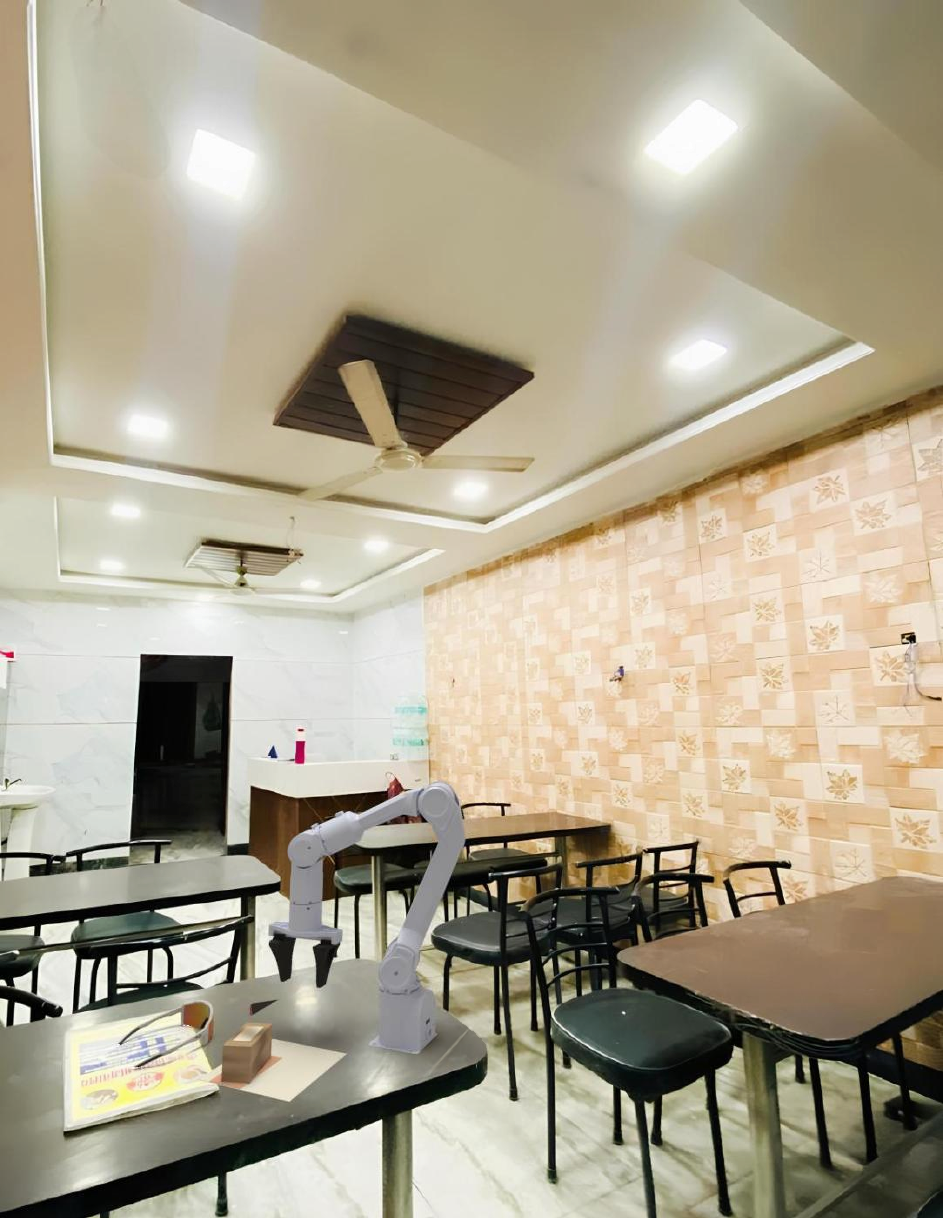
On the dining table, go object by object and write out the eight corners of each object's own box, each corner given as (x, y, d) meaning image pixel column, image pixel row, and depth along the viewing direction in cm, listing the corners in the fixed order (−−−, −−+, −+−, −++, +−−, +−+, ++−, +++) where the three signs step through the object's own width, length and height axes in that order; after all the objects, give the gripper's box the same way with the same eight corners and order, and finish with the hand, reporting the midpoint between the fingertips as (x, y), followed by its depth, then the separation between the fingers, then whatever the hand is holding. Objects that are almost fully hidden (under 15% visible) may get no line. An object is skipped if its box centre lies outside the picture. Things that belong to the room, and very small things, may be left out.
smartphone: (288, 997, 131) (297, 1027, 117) (288, 1002, 130) (297, 1033, 117) (249, 1003, 128) (254, 1035, 114) (249, 1008, 128) (254, 1041, 114)
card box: (249, 1083, 98) (251, 1046, 99) (221, 1081, 99) (223, 1044, 100) (271, 1057, 106) (272, 1022, 107) (244, 1056, 107) (246, 1021, 108)
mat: (346, 1057, 107) (346, 1053, 107) (289, 1106, 93) (289, 1100, 94) (263, 1040, 113) (263, 1036, 113) (198, 1083, 100) (198, 1078, 100)
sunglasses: (227, 1045, 112) (225, 1015, 113) (132, 1091, 102) (130, 1057, 103) (199, 1019, 123) (197, 991, 123) (110, 1058, 113) (108, 1028, 113)
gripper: (352, 898, 118) (350, 980, 115) (287, 892, 123) (284, 969, 121) (330, 908, 112) (328, 995, 109) (262, 901, 117) (258, 983, 114)
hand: (303, 982), depth 114 cm, fingers open, 7 cm apart
